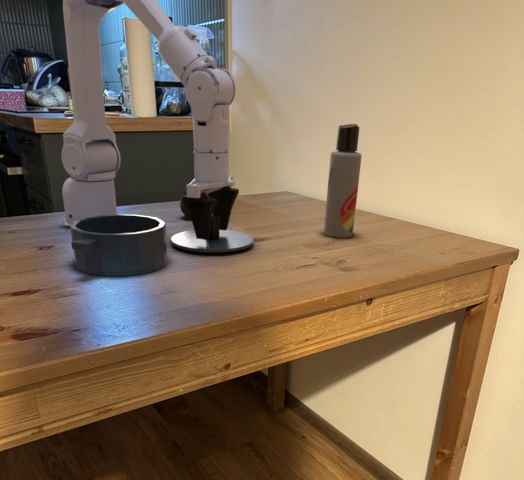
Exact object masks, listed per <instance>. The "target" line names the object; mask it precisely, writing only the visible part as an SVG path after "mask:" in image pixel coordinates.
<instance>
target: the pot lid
mask: <svg viewBox="0 0 524 480" xmlns="http://www.w3.org/2000/svg"><path fill="white" fill-rule="evenodd" d="M170 242H171V244H172V245H173V246H174V247H176V248H177V249H182V250H185V251H191V252H196V253H197V252H198V253H205V254H206V253H207V254H221V253H230V252H238V251H242V250H245V249H248V248H250V247H252V246H253V245H254V242H255V238H254V237H253V236H252V235H250V234H248V233H246V232H242V231H238V230H232V229H227V230H219V215H215V214H213V215H212V221H211V232H210V237H209V239H208V240H204V239H197V238H196V234H195V231H194V229H190V230H184V231H181V232H178V233H175V234H174V235H172V236H171V237H170Z"/></svg>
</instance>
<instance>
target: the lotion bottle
mask: <svg viewBox="0 0 524 480" xmlns="http://www.w3.org/2000/svg"><path fill="white" fill-rule="evenodd" d="M359 137H360V126H359V125H358V124H357V123H348V124H347V123H346V124H343V125H342V124H341V125H338V127H337V137H336V145H335V146H336V148H335V150H336V151H335V150H334V151H332V152H331V153H330V158H329V167H328V168H329V170H328V179H327V180H328V181H327V191H326V192H327V193H326V201H325V202H326V203H325V213H324V214H325V216H324V226H323V234H324V235H325V236H327V237H330V238H338V239H341V238H342V239H345V238H350V237H352V236H353V234H354V227H355V220H356V219H355V218H356V210H357V200H358V192H359V185H360V184H359V182H360V175H361V174H360V173H361V165H362V157H363V156H362V153H360V152H358V146H359Z"/></svg>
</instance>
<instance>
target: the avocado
mask: <svg viewBox="0 0 524 480" xmlns="http://www.w3.org/2000/svg"><path fill="white" fill-rule="evenodd" d="M186 194H187V186H185V188H184V189H183V192H182V196H183V195H186ZM179 206H180V208H179V209H180V210H181V212H182V214H183V217H184V219H185V220H188V221H192V220H191V217H190V214H189V212H188V210H187V208H186V206H185V205H184V203H183V202H182V198H181V199H180V202H179Z"/></svg>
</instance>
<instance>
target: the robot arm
mask: <svg viewBox="0 0 524 480" xmlns="http://www.w3.org/2000/svg"><path fill="white" fill-rule="evenodd" d="M123 5H125V6H126V7H127V8H128V9H129V10H130V11H131V13H133V15H134V16H135V17H136V18H137V19H138V20H139V22H141V24H142V25H143V26H144V27H145V29H147V30H148V32H149V33H150V34H151V35H152V37H154V38H155V39H156V41H157V42H158V44H157V45H158V46H157V47H158V50H157V51H158V54H159V57H160V58H161V59H162V60H163V61H164V63H165V64H166V66H168V68H169V69H170V70H171V72H172V73H173V74H174V75H175V77H176V78H177V79H178V80H179V81H180V83H181V84H182V85H183V92H184V96H185V99H186V101H187V103H188V104H189V107H190V111H191V117H192V127H193V128H192V131H193V133H192V134H193V135H192V137H193V173H194V178H193V179H192V180H191V182H190V183H187V184H186V186H185V187H187V194H186V195H183V194H182V196H181V199H182V202H183V203H184V205H185V206H186V208H187V210H188V212H189V214H190V217H191V220H190V221H191V223H192V226H193V230H194V231H195V234H196V238H197V239H204V240H208V239H209V237H210V232H211V221H212V215H213V214H215V215H219V230H228V226H229V222H230V219H231V213H232V209H233V206H234V204H235V202H236V199H237V197H238V196H239V193H240V190H239V188H236V187H234V186H235V185H236V181H235V180H234V175H233V174H229V168H230V167H229V164H230V163H229V161H230V160H229V157H230V155H229V151H230V150H229V149H230V144H229V143H230V142H229V141H230V139H229V137H230V135H229V134H230V131H229V130H230V128H229V127H230V119H229V118H230V106H231V105H232V103H233V101H234V100H235V96H236V84H235V81H234V79H233V77H232V76H231V75H232V74H231V73H230V71H229V70H227V69H225V68H222V67H217V66H216V60H215V58H214V57H213V56H211V55H209V54H207V52H206V51H205V50H204V48H203V47H202V46H201V45H200V43H199V42H198V41H197V40H196V38H197V37H198V35H197V34H196V32H195V31H194V29H192V28H187V27H186V26H184V25H175V24H174V23H173V22H172V20H171V19H170V17H169V15H167V13H166V12H165V10H164V9H163V7H162V6H161V4H160V3H159V2H158V0H62V14H63V23H64V32H65V43H66V54H67V63H68V75H69V84H70V95H71V105H72V106H71V107H72V115H73V122H72V124H71V125H70V126H69V127H67V129H66V130H65V131H64V132H63V134H62V139H63V145H62V149H61V163H62V166H63V168H64V169H65V172H66V173H67V174H68V175H69V176H70V177H68V178H66V180H65V181H64V182H63V185H62V191H61V192H62V201H63V208H64V215H65V222H64V223H63V226H64V227H68V228H70V225H71V224H72V223H73V222H75V221H77V220H80V219H84V218H87V217H94V216H101V215H116V214H118V211H117V209H118V208H117V198H116V197H117V196H116V188H115V187H116V186H115V178H116V177H117V172H118V171H119V169H120V167H121V161H122V159H121V158H122V157H121V153H120V150H119V148H118V145H117V140H116V139H117V138H116V134H115V133H114V131H113V130H112V129H111V128H110V127H109V125H107V123H106V108H105V107H106V106H105V93H104V81H103V68H102V67H103V65H102V54H101V53H102V52H101V51H102V49H101V39H100V38H101V36H100V22H101V21H102V20H103V18H104V17H105V16H106V15H107V14H108V13H110V12H112V11H114V10H115V9H117V8H119V7H121V6H123Z"/></svg>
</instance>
